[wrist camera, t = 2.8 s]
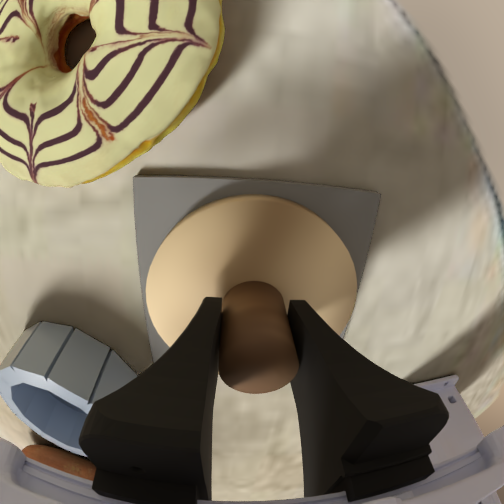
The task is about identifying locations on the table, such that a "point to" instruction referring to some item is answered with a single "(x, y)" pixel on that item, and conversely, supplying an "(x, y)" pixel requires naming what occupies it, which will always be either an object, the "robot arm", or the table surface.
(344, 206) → the rubber mat
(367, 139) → the table surface
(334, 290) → the bamboo lid
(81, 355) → the bowl
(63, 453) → the ceramic jug
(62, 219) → the table surface
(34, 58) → the decorated donut
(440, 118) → the table surface
